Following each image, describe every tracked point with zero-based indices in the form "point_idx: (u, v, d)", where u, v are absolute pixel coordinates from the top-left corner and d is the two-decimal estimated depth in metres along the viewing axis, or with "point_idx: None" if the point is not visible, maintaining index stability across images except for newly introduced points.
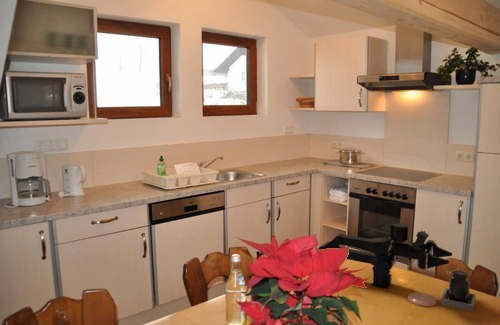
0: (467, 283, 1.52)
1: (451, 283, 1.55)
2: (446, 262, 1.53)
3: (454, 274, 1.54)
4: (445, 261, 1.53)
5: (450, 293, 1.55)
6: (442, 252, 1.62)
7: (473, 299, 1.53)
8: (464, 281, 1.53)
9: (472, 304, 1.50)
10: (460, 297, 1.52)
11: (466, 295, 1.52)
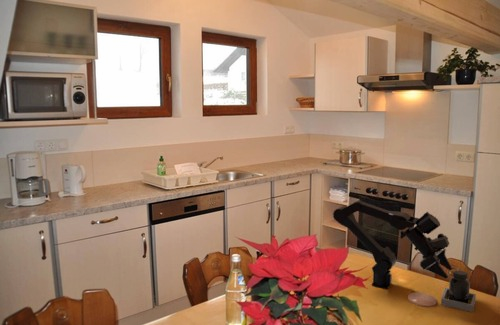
0: (467, 283, 1.52)
1: (451, 283, 1.55)
2: (444, 276, 1.53)
3: (454, 274, 1.54)
4: (444, 275, 1.53)
5: (450, 293, 1.55)
6: (444, 262, 1.62)
7: (473, 299, 1.53)
8: (464, 281, 1.53)
9: (472, 304, 1.50)
10: (460, 297, 1.53)
11: (466, 295, 1.52)
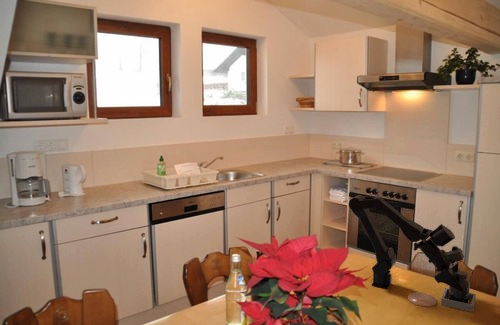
0: (467, 283, 1.52)
1: None
2: (460, 289, 1.52)
3: None
4: (459, 288, 1.52)
5: (450, 293, 1.55)
6: None
7: (473, 299, 1.53)
8: (464, 281, 1.53)
9: (472, 304, 1.50)
10: (460, 297, 1.52)
11: (466, 295, 1.52)
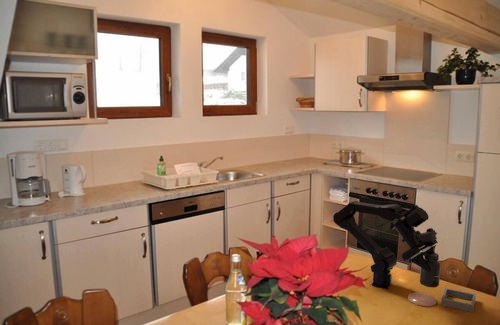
0: (436, 265, 1.53)
1: None
2: (427, 270, 1.53)
3: (425, 255, 1.55)
4: (427, 268, 1.53)
5: (420, 273, 1.57)
6: None
7: (473, 299, 1.53)
8: (433, 263, 1.53)
9: (472, 304, 1.50)
10: (428, 278, 1.53)
11: (435, 276, 1.53)
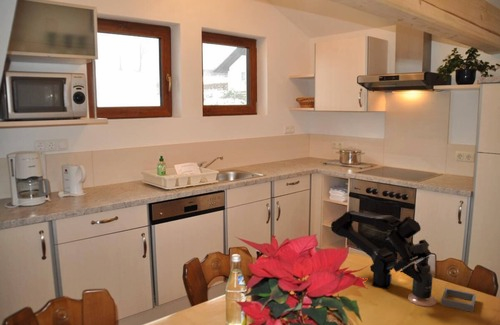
0: (428, 276, 1.54)
1: None
2: (419, 281, 1.54)
3: (417, 266, 1.57)
4: (418, 280, 1.54)
5: None
6: None
7: (473, 299, 1.53)
8: (425, 274, 1.55)
9: (472, 304, 1.50)
10: (419, 289, 1.55)
11: (426, 288, 1.54)
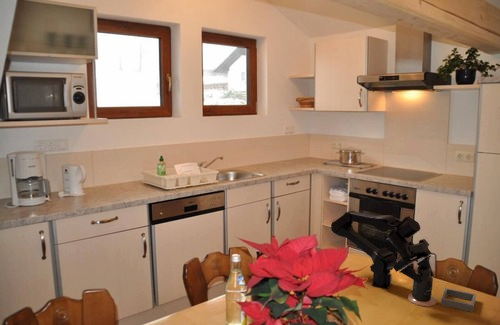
0: (428, 279, 1.54)
1: None
2: (418, 281, 1.54)
3: (417, 269, 1.57)
4: (417, 280, 1.54)
5: (413, 287, 1.58)
6: None
7: (473, 299, 1.53)
8: (425, 277, 1.55)
9: (472, 304, 1.50)
10: (419, 292, 1.55)
11: (426, 291, 1.54)
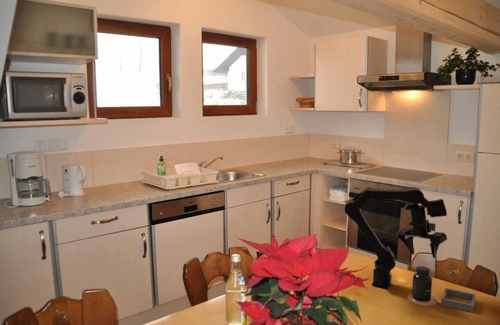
0: (427, 279, 1.54)
1: (413, 278, 1.58)
2: (435, 256, 1.63)
3: (416, 269, 1.57)
4: (435, 255, 1.63)
5: (412, 287, 1.59)
6: (411, 246, 1.70)
7: (473, 299, 1.53)
8: (424, 277, 1.55)
9: (472, 304, 1.50)
10: (419, 292, 1.55)
11: (426, 291, 1.54)
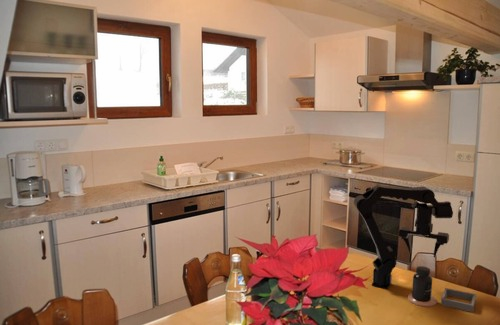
0: (427, 279, 1.54)
1: (413, 278, 1.58)
2: (435, 255, 1.67)
3: (416, 269, 1.57)
4: None
5: (412, 287, 1.58)
6: (410, 244, 1.72)
7: (473, 299, 1.53)
8: (424, 277, 1.55)
9: (472, 304, 1.50)
10: (419, 292, 1.55)
11: (426, 291, 1.54)
